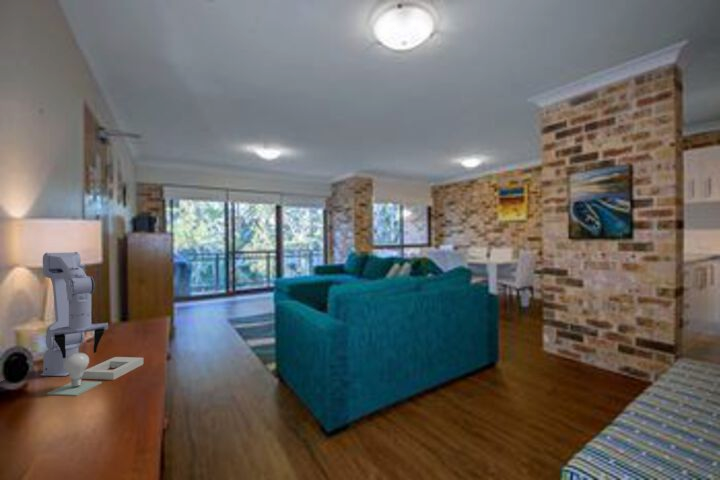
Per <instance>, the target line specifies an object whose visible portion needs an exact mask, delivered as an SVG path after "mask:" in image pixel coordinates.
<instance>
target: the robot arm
mask: <svg viewBox="0 0 720 480" xmlns="http://www.w3.org/2000/svg"><path fill="white" fill-rule="evenodd" d="M80 265H81V254H80V253H79V252H78V251H74V252H45V253H44V254H43V255H42V270H43V274H44V277H46V278H48V279H50V281H51V284H52V292H53V301H54V302H53V304H54V315H55V322H54V323H52V324H50V326H48V327H47V329H46V331H45V335H46V336H45V345H46V348H47V350H46V351H45V352H44V353H43V354H44V355H43V359H42V360H43V363H42V365H43V367H42V368H43V369H42V370H43V373H40V376H50V377H51V376H52V377H67V376H70V375H69V373H68V372H67V371H66V370H65V369H64V361H65V359H66V358H67V357H68V356H70V355H71V354H74V353H78V352H79V349H80V348H79V347H80V346H81V344H83V343H84V341H85V338H86V337H85V334H86V333H87V332H93V333H94V336H93V340H94V342H93V353H94V354H95V353H97V350H98V346H99V344H100V341H101V339H102V337H103V335H104V334H105V331H106V330H108V329H109V323H108V322H103V323H101V322H100V323H92V295H93V294H94V292H95V280H94V278H93V276H91V275H89V276H88V275H87V274H86V272H85V271H84V269H83V268H82V267H80Z"/></svg>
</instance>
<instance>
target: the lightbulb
mask: <svg viewBox="0 0 720 480" xmlns="http://www.w3.org/2000/svg"><path fill="white" fill-rule="evenodd" d="M89 365H90V357H89V355H87V354H86V353H85V352H78V353H74V354H71V355H70V356H68V357H67V358H66V359H65V361H64V369H65V370H66V371H67V372H68V373H69V375H68V376H69V378H70V380H71V381H70V383H71V386H72V387H78V386H79V385H81V384H82V381H83V379H82V376H83V373H84V370H87V367H88V366H89Z"/></svg>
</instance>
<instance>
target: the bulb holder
mask: <svg viewBox="0 0 720 480" xmlns="http://www.w3.org/2000/svg"><path fill="white" fill-rule="evenodd" d="M143 365H144V357H134V356H133V357H130V356H114V357H111V358H109V359H107V360H105V361H102V362H100V363H98V364H96V365H93V366H91V367H89V368H86V369H85V370H84V373H83V376H82V380H107V381H108V380H110V381H112V380H116V379H118V378H120V377H122V376H124V375H126V374H127V373H129V372H131V371H134V370H135V369H137V368H139V367H141V366H143Z"/></svg>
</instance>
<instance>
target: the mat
mask: <svg viewBox="0 0 720 480" xmlns="http://www.w3.org/2000/svg"><path fill="white" fill-rule="evenodd" d="M102 383H103V381H93V380H91V381H90V380H89V381H87V380H85V381H84V380H82V384H81V385H79V386H78V387H72V386H71V382H68V383H66V384H65V385H62V386H60V387H58V388H56V389H53V390H51V391H49V392H47V393H46V395H48V396H65V397H66V396H71V397H72V396H73V397H79V396H80V395H81V394H83V393H85V392H87V391H89V390H91V389H93V388H95V387H97V386H99V385H101V384H102Z"/></svg>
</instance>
